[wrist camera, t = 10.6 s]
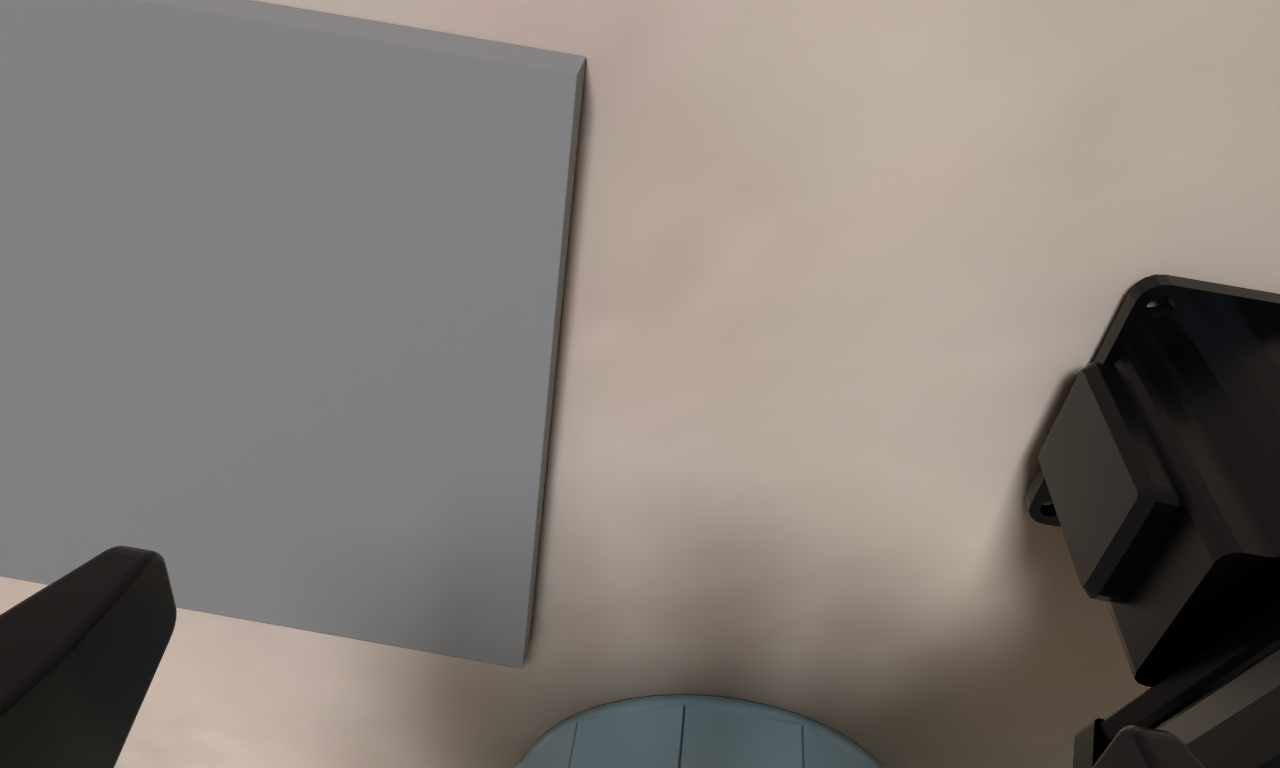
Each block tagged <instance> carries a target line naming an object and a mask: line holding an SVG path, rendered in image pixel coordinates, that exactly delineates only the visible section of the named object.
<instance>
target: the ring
mask: <svg viewBox="0 0 1280 768" xmlns="http://www.w3.org/2000/svg"><path fill="white" fill-rule="evenodd" d="M515 768H883V767H882V765H881V764H880V763H879V762H878V761H877V760H876V759H874V758H873V757H872V756H871V755H870V754H869V753H868V752H867V751H865V750H864V749H863V748H861V747H860V746H859V745H857V744H856V743H854V742H853V741H851V740H850V739H848V738H847V737H845V736H844V735H842V734H840V733H838V732H836V731H834V730H832V729H830V728H829V727H827V726H825V725H823V724H820V723H818V722H816V721H813V720H811V719H808V718H806V717H803V716H801V715H799V714H795V713H792V712H789V711H786V710H783V709H779V708H776V707H773V706H769V705H764V704H760V703H755V702H750V701H746V700H740V699H732V698H725V697H718V696H703V695H658V696H649V697H640V698H632V699H627V700H622V701H618V702H613V703H608V704H605V705H602V706H598V707H595V708H592V709H589V710H586V711H583V712H581V713H579V714H577V715H575V716H572V717H570V718H568V719H566V720H564V721H562V722H561V723H559V724H558V725H556V726H554V727H553V728H551V729H550V730H548V731H547V732H546V733H545V734H544V735H543V736H541V737H540V738H539V739H538V740H537V741H536V742H535V743H534V744H533V745H532V747H531V748H530V749H529V751H528V752H527V753H526V754H525V756H524V759H523V761H522V762H521V763H519V764H518V765H517V766H516V767H515Z"/></svg>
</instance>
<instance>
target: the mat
mask: <svg viewBox="0 0 1280 768" xmlns="http://www.w3.org/2000/svg"><path fill="white" fill-rule="evenodd" d="M585 61H586V57H583V56H577V55H572V54H566V53H560V52H554V51H548V50H542V49H536V48H530V47H524V46H518V45H512V44H506V43H500V42H495V41H489V40H483V39H477V38H471V37H465V36H459V35H453V34H447V33H441V32H435V31H429V30H423V29H418V28H412V27H406V26H400V25H394V24H388V23H382V22H376V21H370V20H364V19H358V18H352V17H347V16H341V15H335V14H329V13H323V12H317V11H311V10H305V9H299V8H293V7H287V6H281V5H275V4H270V3H264V2H258V1H252V0H0V576H2V577H7V578H13V579H18V580H24V581H30V582H35V583H41V584H47V585H50V584H52V583H53V582H55V581H56V580H58V579H60V578H61V577H63V576H65V575H66V574H68V573H69V572H71V571H73V570H74V569H76V568H78V567H79V566H81V565H82V564H84V563H86V562H87V561H89V560H91V559H92V558H94V557H95V556H97V555H99V554H100V553H102V552H104V551H105V550H107V549H110V548H113V547H115V546H129V547H134V548H140V549H145V550H151V551H155V552H158V553H159V554H160V555H161V556H162V557H163V558H164V560H165V563H166V567H167V571H168V575H169V579H170V584H171V588H172V592H173V596H174V600H175V604H176V607H177V608H182V609H188V610H193V611H199V612H205V613H210V614H216V615H222V616H227V617H233V618H239V619H244V620H250V621H256V622H261V623H267V624H272V625H278V626H284V627H289V628H295V629H301V630H306V631H312V632H318V633H323V634H329V635H335V636H340V637H346V638H352V639H357V640H363V641H368V642H374V643H380V644H385V645H391V646H397V647H402V648H408V649H414V650H419V651H425V652H431V653H436V654H442V655H447V656H453V657H459V658H464V659H470V660H476V661H481V662H487V663H493V664H498V665H504V666H510V667H515V668H521V669H522V668H523V664H524V660H525V657H526V653H527V649H528V645H529V641H530V631H531V621H532V610H533V600H534V590H535V579H536V569H537V559H538V548H539V538H540V528H541V517H542V507H543V496H544V486H545V476H546V465H547V455H548V445H549V434H550V424H551V413H552V403H553V393H554V382H555V372H556V362H557V351H558V341H559V331H560V320H561V310H562V299H563V289H564V279H565V268H566V258H567V248H568V237H569V227H570V217H571V206H572V196H573V185H574V175H575V165H576V154H577V144H578V134H579V123H580V113H581V102H582V92H583V82H584V71H585Z"/></svg>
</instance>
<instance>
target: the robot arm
mask: <svg viewBox="0 0 1280 768" xmlns="http://www.w3.org/2000/svg"><path fill="white" fill-rule="evenodd" d="M1158 296H1167V299H1166V300H1165V301H1164V302H1163V303H1162V304H1161V305H1159V306H1157V307H1147V304H1148V303H1149V302H1150V301H1151V300H1152V299H1154V298H1156V297H1158ZM1038 460H1039V463H1040V468H1039V470H1038V471H1037V473H1036V475H1035V477H1034V479H1033V481H1032V483H1031V485H1030V487H1029V489H1028V491H1027V493H1026V498H1025V501H1026V504H1027V507H1028V510H1029V513H1030V516H1031V517H1032V518H1033V519H1034V520H1035V521H1036V522H1039V523H1042V524H1046V525H1052V526H1058V527H1062V530H1063V533H1064V536H1065V539H1066V542H1067V545H1068V548H1069V551H1070V554H1071V557H1072V560H1073V563H1074V565H1075V568H1076V571H1077V574H1078V577H1079V580H1080V583H1081V585H1082V587H1083V588H1084V590H1085V591H1086V593H1087V594H1088V596H1089V597H1090V598H1092V599H1098V600H1103V601H1107V604H1108V607H1109V609H1110V612H1111V615H1112V618H1113V620H1114V623H1115V626H1116V629H1117V631H1118V634H1119V637H1120V640H1121V642H1122V645H1123V648H1124V651H1125V653H1126V656H1127V659H1128V662H1129V664H1130V667H1131V670H1132V673H1133V675H1134V678H1135V679H1136V681H1137V682H1138V683H1139V684H1142V685H1144V686H1149V687H1151V688H1150V689H1148V690H1147V691H1145V692H1144V693H1143V694H1141V695H1140V696H1138V697H1137V698H1135V699H1134V700H1133V701H1131V702H1130V703H1128V704H1127V705H1125V706H1124V707H1123V708H1121V709H1120V710H1118V711H1117V712H1116V713H1114V714H1113V715H1111V716H1110V717H1108V718H1107V719H1106V720H1103V719H1100V718H1098V719H1095V720H1094V721H1093V722H1091V723H1090V724H1088V725H1087V726H1086V727H1084V728H1083V729H1081V730H1080V731H1078V732H1077V733H1076V735H1075V744H1074V759H1073V768H1280V294H1275V293H1269V292H1264V291H1258V290H1252V289H1246V288H1240V287H1234V286H1228V285H1222V284H1217V283H1211V282H1205V281H1199V280H1193V279H1187V278H1181V277H1176V276H1170V275H1152V276H1149V277H1146V278H1144V279H1142V280H1141V281H1139V282H1138V283H1136V284H1135V285H1134V286H1133V287H1132V289H1131V290H1130V291H1129V293H1128V295H1127V297H1126V299H1125V301H1124V303H1123V305H1122V307H1121V309H1120V311H1119V313H1118V314H1117V316H1116V318H1115V320H1114V322H1113V324H1112V326H1111V328H1110V330H1109V332H1108V334H1107V336H1106V338H1105V340H1104V342H1103V344H1102V346H1101V348H1100V350H1099V352H1098V354H1097V356H1096V358H1095V360H1094V362H1093V363H1090V364H1089V365H1087V366H1086V367H1085V368H1083V369H1082V370H1081V371H1080V372H1079V374H1078V376H1077V378H1076V380H1075V382H1074V384H1073V386H1072V388H1071V390H1070V392H1069V394H1068V396H1067V398H1066V400H1065V402H1064V404H1063V406H1062V408H1061V410H1060V412H1059V414H1058V416H1057V418H1056V420H1055V422H1054V424H1053V426H1052V428H1051V430H1050V432H1049V434H1048V436H1047V438H1046V440H1045V442H1044V444H1043V446H1042V448H1041V450H1040V452H1039V454H1038ZM1048 501H1053V504H1050V505H1043V504H1044V503H1045V502H1048ZM175 622H176V604H175V600H174V596H173V592H172V588H171V584H170V579H169V575H168V571H167V567H166V563H165V560H164V558H163V557H162V556H161V555H160V554H159V553H158V552H155V551H151V550H145V549H140V548H134V547H129V546H115V547H113V548H110V549H107V550H105V551H104V552H102V553H100V554H99V555H97V556H95V557H94V558H92V559H91V560H89V561H87V562H86V563H84V564H82V565H81V566H79V567H78V568H76V569H74V570H73V571H71V572H69V573H68V574H66V575H65V576H63V577H61V578H60V579H58V580H56V581H55V582H53V583H52V584H50V585H48V586H47V587H45V588H43V589H42V590H40V591H39V592H37V593H35V594H34V595H32V596H30V597H29V598H27V599H25V600H24V601H22V602H21V603H19V604H17V605H16V606H14V607H12V608H11V609H9V610H8V611H6V612H4V613H3V614H1V615H0V768H114V766H115V764H116V762H117V760H118V757H119V755H120V753H121V751H122V748H123V746H124V744H125V741H126V739H127V737H128V734H129V732H130V730H131V728H132V725H133V723H134V721H135V718H136V716H137V714H138V711H139V709H140V707H141V705H142V702H143V700H144V698H145V695H146V693H147V691H148V689H149V686H150V684H151V682H152V679H153V677H154V675H155V672H156V670H157V668H158V666H159V663H160V661H161V659H162V656H163V654H164V652H165V649H166V647H167V645H168V643H169V640H170V638H171V636H172V633H173V630H174V627H175Z"/></svg>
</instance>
